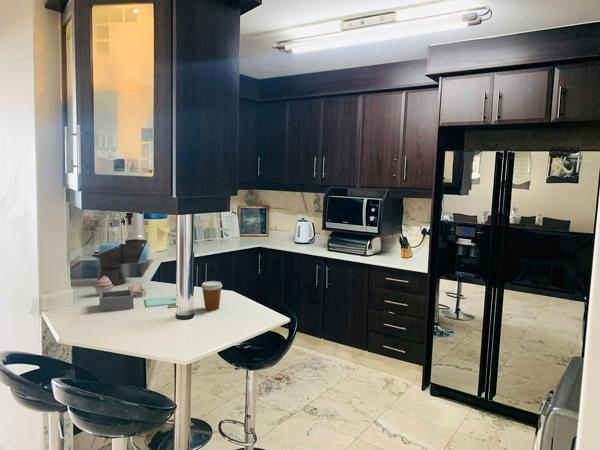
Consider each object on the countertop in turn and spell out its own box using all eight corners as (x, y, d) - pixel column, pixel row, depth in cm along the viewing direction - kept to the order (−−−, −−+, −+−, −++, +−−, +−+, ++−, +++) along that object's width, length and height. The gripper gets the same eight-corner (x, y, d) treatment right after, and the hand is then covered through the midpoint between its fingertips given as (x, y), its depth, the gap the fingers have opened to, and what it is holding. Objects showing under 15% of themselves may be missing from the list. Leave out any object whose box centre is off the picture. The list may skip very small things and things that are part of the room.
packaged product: (145, 290, 224) (123, 292, 221) (145, 300, 225) (124, 301, 222) (145, 281, 241) (125, 283, 238) (146, 290, 242) (126, 292, 239)
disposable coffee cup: (216, 312, 204) (215, 286, 203) (197, 310, 207) (197, 284, 206) (226, 306, 213) (225, 281, 212) (208, 304, 216) (207, 280, 215)
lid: (144, 300, 221) (144, 290, 220) (186, 296, 228) (186, 287, 227) (146, 308, 209) (146, 297, 208) (190, 303, 216) (190, 293, 215)
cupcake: (95, 298, 225) (94, 278, 224) (93, 294, 234) (92, 275, 232) (115, 296, 230) (114, 276, 229) (113, 291, 238) (112, 273, 237)
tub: (101, 306, 212) (100, 292, 211) (132, 303, 217) (132, 289, 216) (100, 314, 201) (99, 299, 200) (133, 310, 206) (133, 295, 205)
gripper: (119, 185, 228) (121, 227, 230) (119, 187, 205) (121, 233, 207) (135, 185, 231) (136, 226, 233) (137, 186, 208) (138, 232, 210)
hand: (129, 229), depth 220 cm, fingers open, 13 cm apart
